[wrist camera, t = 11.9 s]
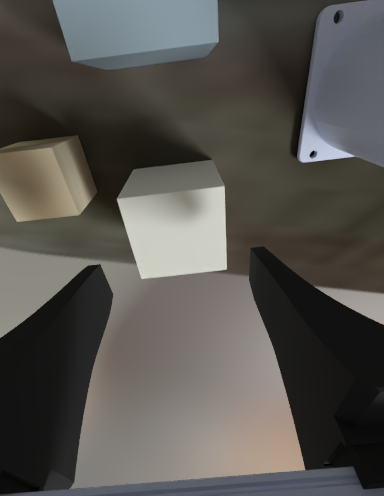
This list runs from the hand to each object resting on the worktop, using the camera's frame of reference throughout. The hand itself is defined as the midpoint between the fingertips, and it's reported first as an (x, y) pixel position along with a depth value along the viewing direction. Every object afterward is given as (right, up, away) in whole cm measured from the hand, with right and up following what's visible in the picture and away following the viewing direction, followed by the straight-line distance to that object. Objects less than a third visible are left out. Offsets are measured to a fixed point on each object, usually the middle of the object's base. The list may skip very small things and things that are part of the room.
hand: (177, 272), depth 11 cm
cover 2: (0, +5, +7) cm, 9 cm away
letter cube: (-9, +7, +5) cm, 12 cm away
